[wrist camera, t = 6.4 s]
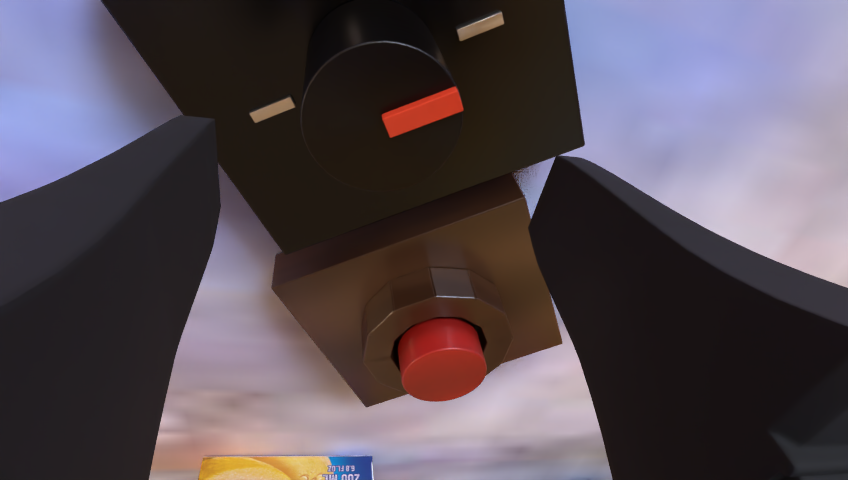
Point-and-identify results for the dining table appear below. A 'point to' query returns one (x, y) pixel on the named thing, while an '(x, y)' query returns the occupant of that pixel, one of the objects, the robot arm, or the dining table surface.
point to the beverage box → (287, 468)
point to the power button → (441, 359)
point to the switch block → (422, 285)
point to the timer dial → (378, 97)
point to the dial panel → (283, 86)
